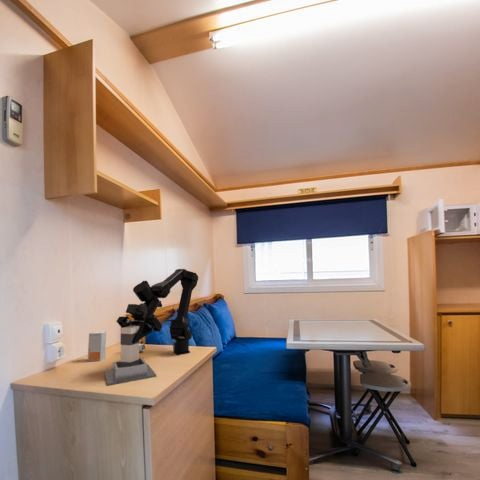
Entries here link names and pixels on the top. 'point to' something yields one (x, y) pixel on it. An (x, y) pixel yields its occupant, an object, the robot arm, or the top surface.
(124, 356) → the plug
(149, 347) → the top surface
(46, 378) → the top surface
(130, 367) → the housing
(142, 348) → the valve
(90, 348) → the skincare box
